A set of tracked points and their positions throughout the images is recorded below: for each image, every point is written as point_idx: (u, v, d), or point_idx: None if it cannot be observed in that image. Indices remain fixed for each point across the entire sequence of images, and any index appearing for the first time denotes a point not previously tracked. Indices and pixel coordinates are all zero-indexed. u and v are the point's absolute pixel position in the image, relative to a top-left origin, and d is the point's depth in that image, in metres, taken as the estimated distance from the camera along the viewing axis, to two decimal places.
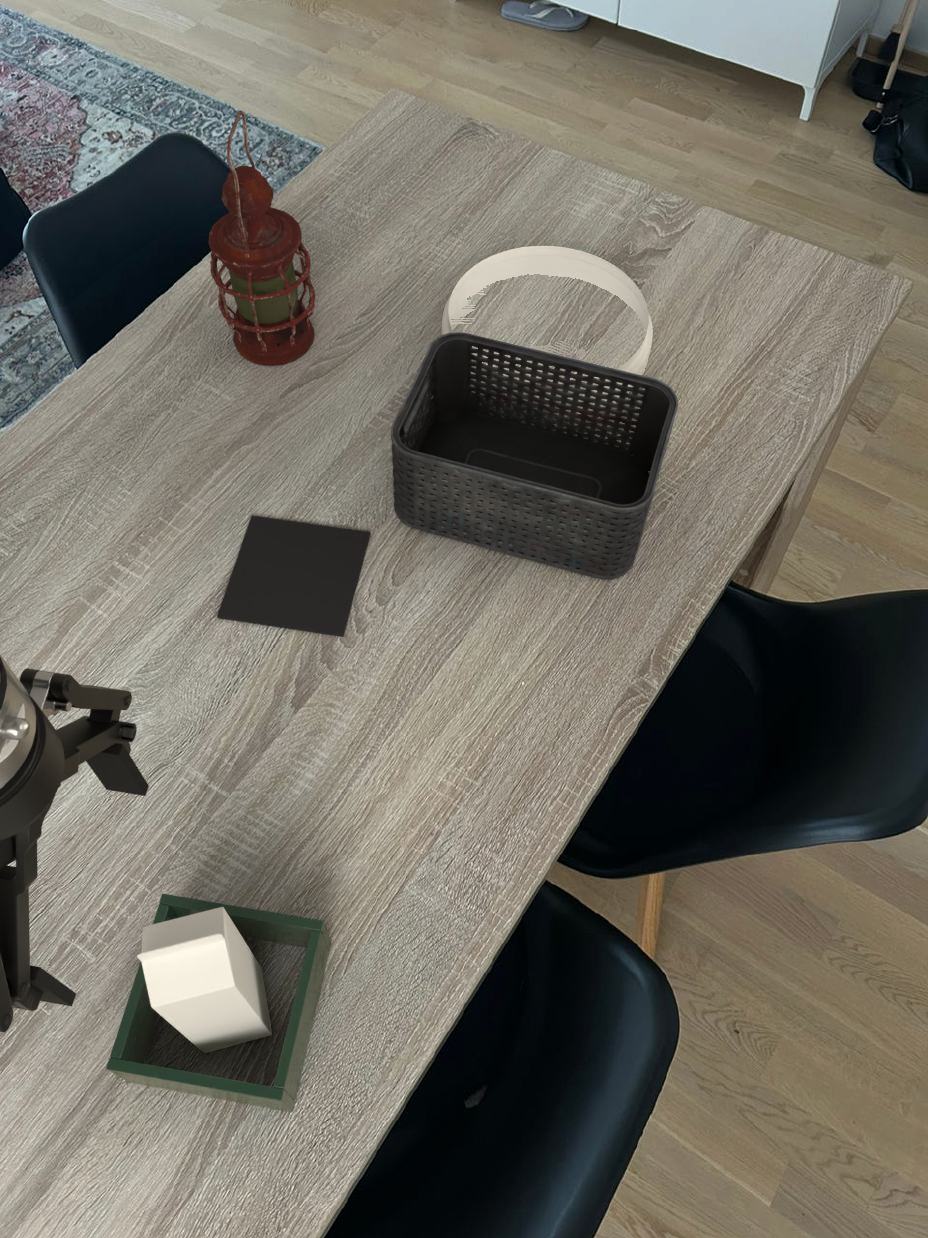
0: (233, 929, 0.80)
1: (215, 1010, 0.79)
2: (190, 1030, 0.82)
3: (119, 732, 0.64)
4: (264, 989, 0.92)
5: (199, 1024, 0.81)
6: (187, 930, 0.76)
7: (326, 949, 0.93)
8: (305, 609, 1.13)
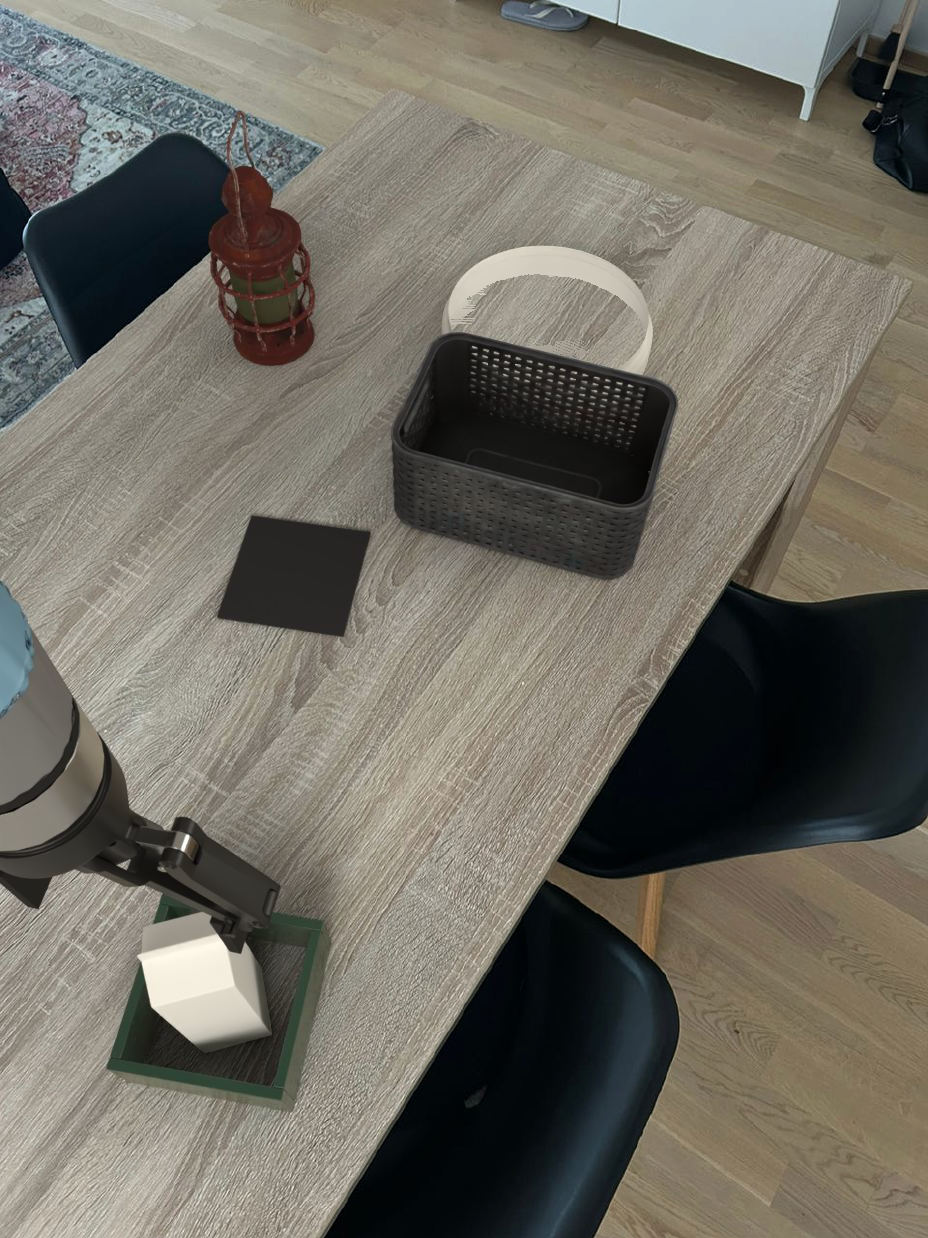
0: None
1: (215, 1010, 0.79)
2: (190, 1030, 0.82)
3: None
4: (264, 989, 0.92)
5: (199, 1024, 0.81)
6: (187, 930, 0.76)
7: (326, 949, 0.93)
8: (305, 609, 1.13)
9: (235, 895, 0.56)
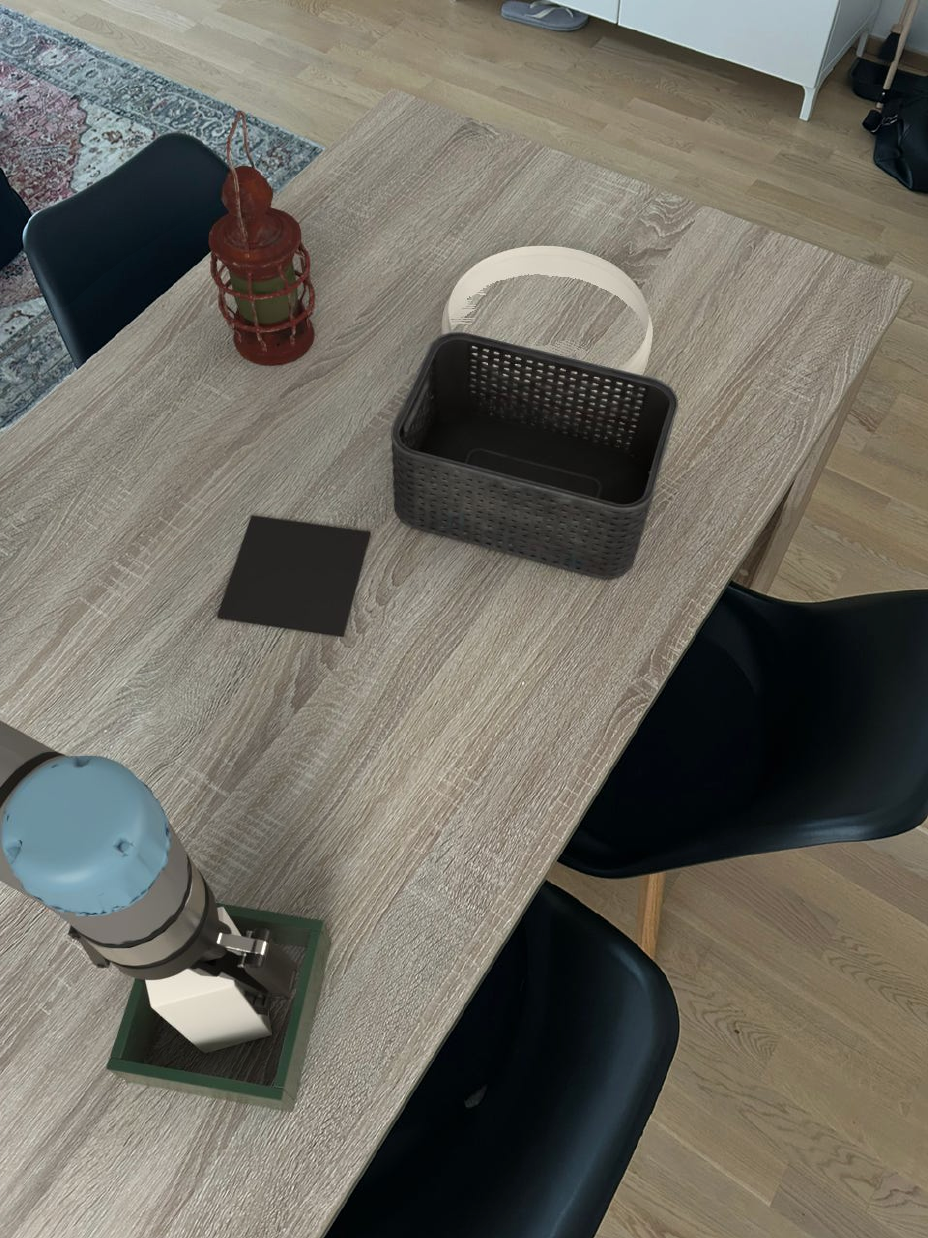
0: (233, 929, 0.80)
1: (215, 1010, 0.79)
2: (190, 1030, 0.82)
3: None
4: None
5: (199, 1024, 0.81)
6: None
7: (326, 949, 0.93)
8: (305, 609, 1.13)
9: (279, 979, 0.74)
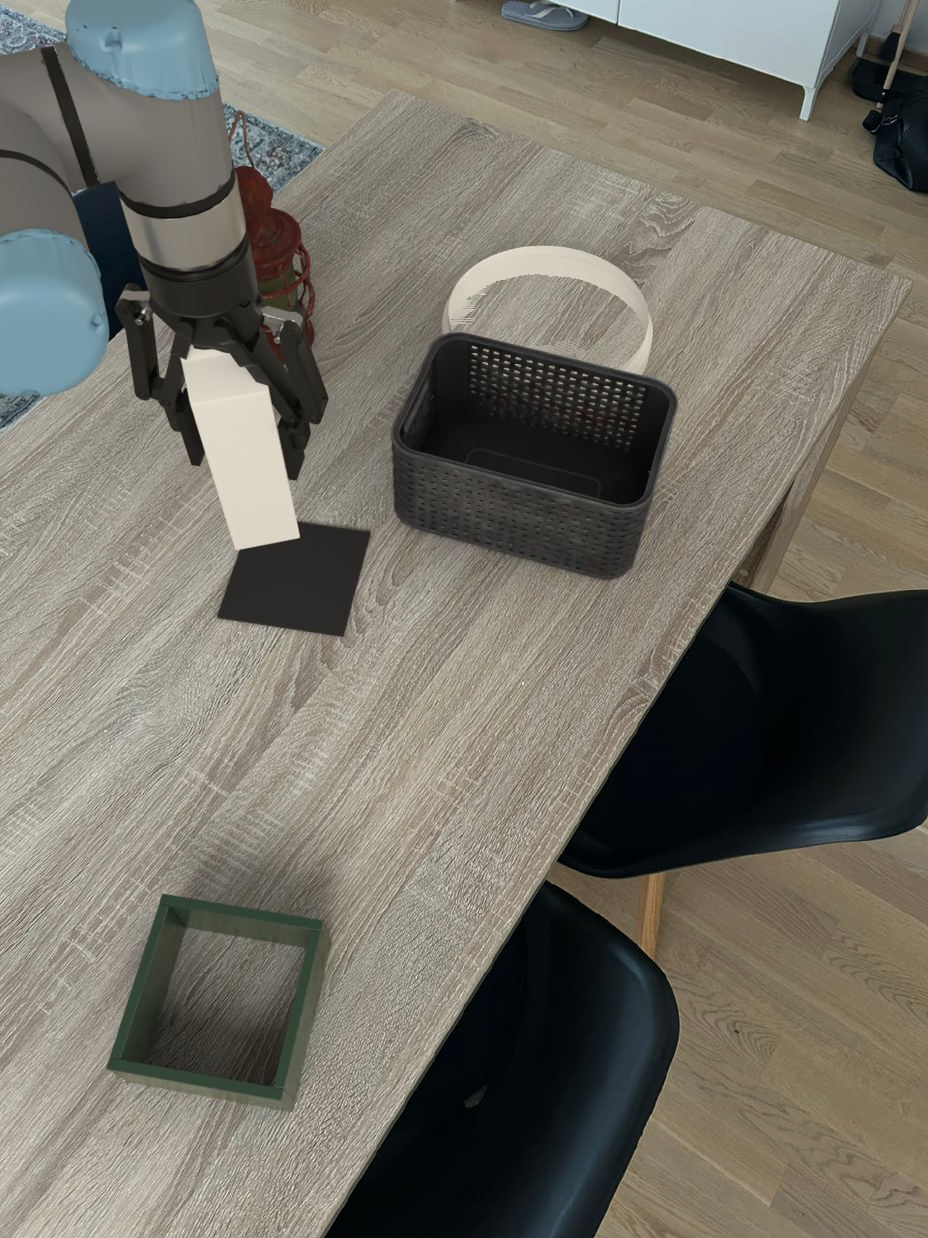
0: None
1: (249, 444, 0.83)
2: (224, 482, 0.86)
3: None
4: None
5: (233, 472, 0.85)
6: None
7: (326, 949, 0.93)
8: (305, 609, 1.13)
9: (311, 384, 0.79)
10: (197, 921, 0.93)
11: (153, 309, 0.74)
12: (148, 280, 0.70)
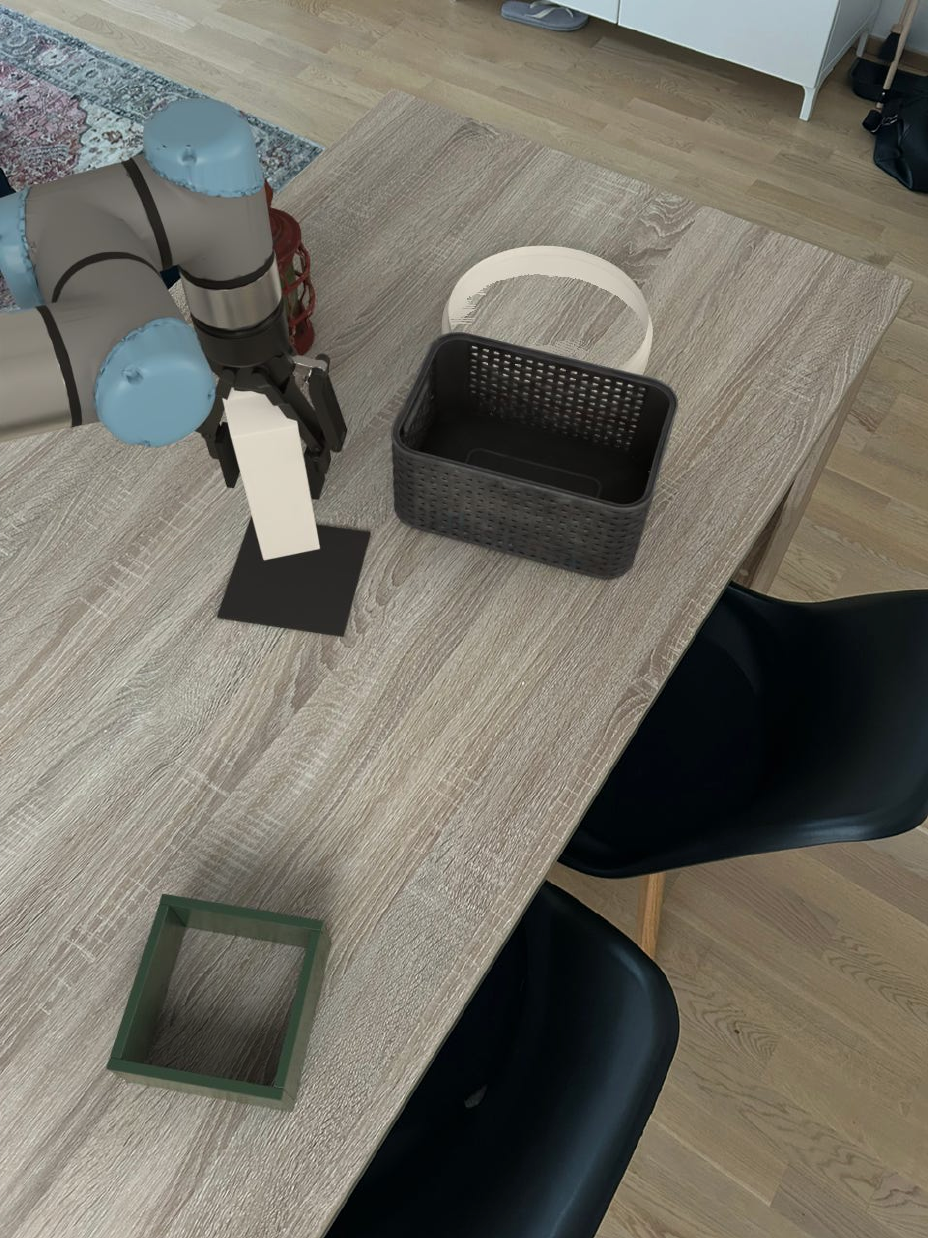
0: None
1: (279, 469, 0.97)
2: (257, 502, 1.00)
3: None
4: None
5: (264, 493, 0.99)
6: None
7: (326, 949, 0.93)
8: (305, 609, 1.13)
9: (333, 419, 0.92)
10: (197, 921, 0.93)
11: None
12: (200, 337, 0.83)
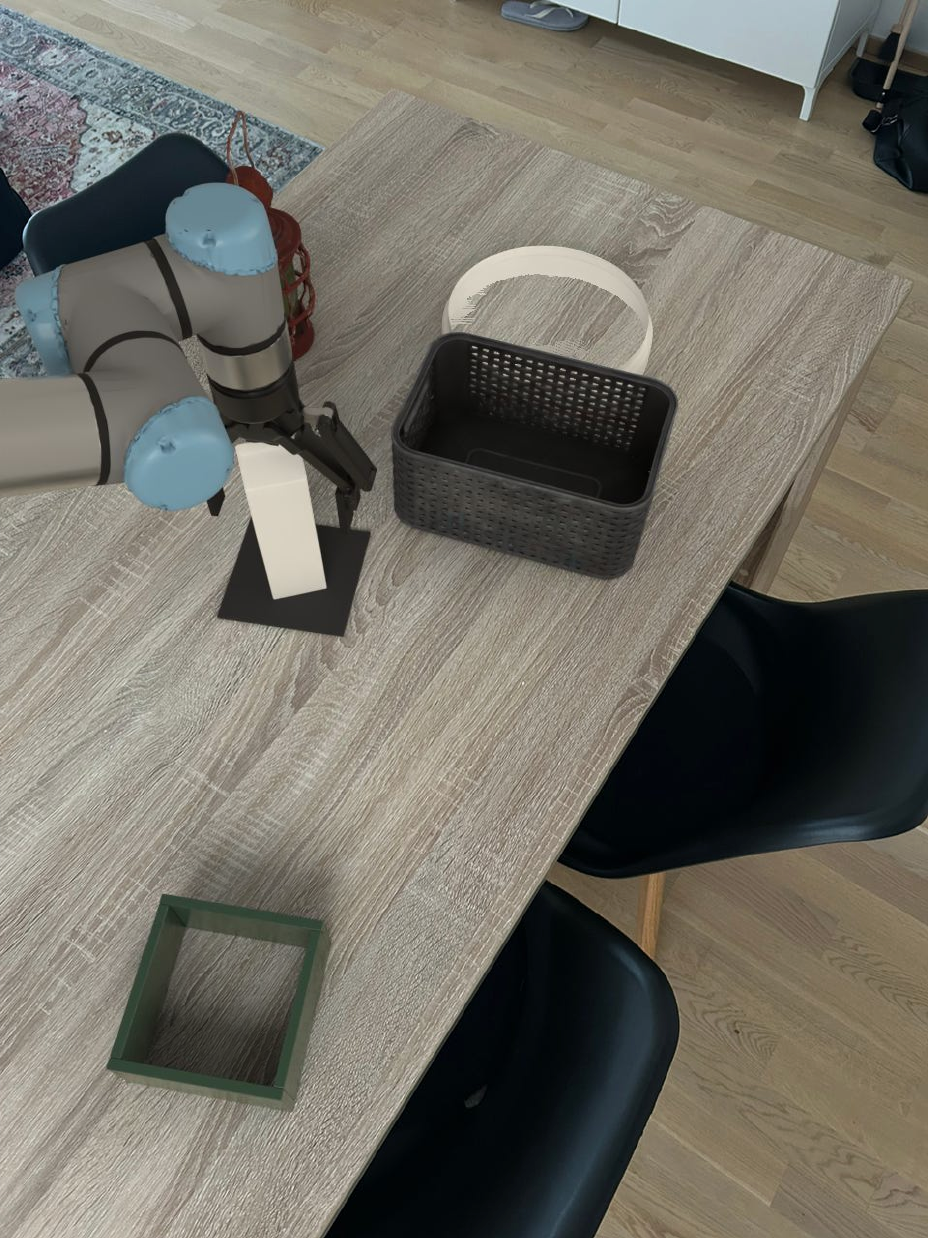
0: None
1: (289, 518, 1.03)
2: (268, 547, 1.06)
3: None
4: None
5: (275, 539, 1.05)
6: None
7: (326, 949, 0.93)
8: (305, 609, 1.13)
9: (355, 460, 0.96)
10: (197, 921, 0.93)
11: None
12: (215, 396, 0.89)
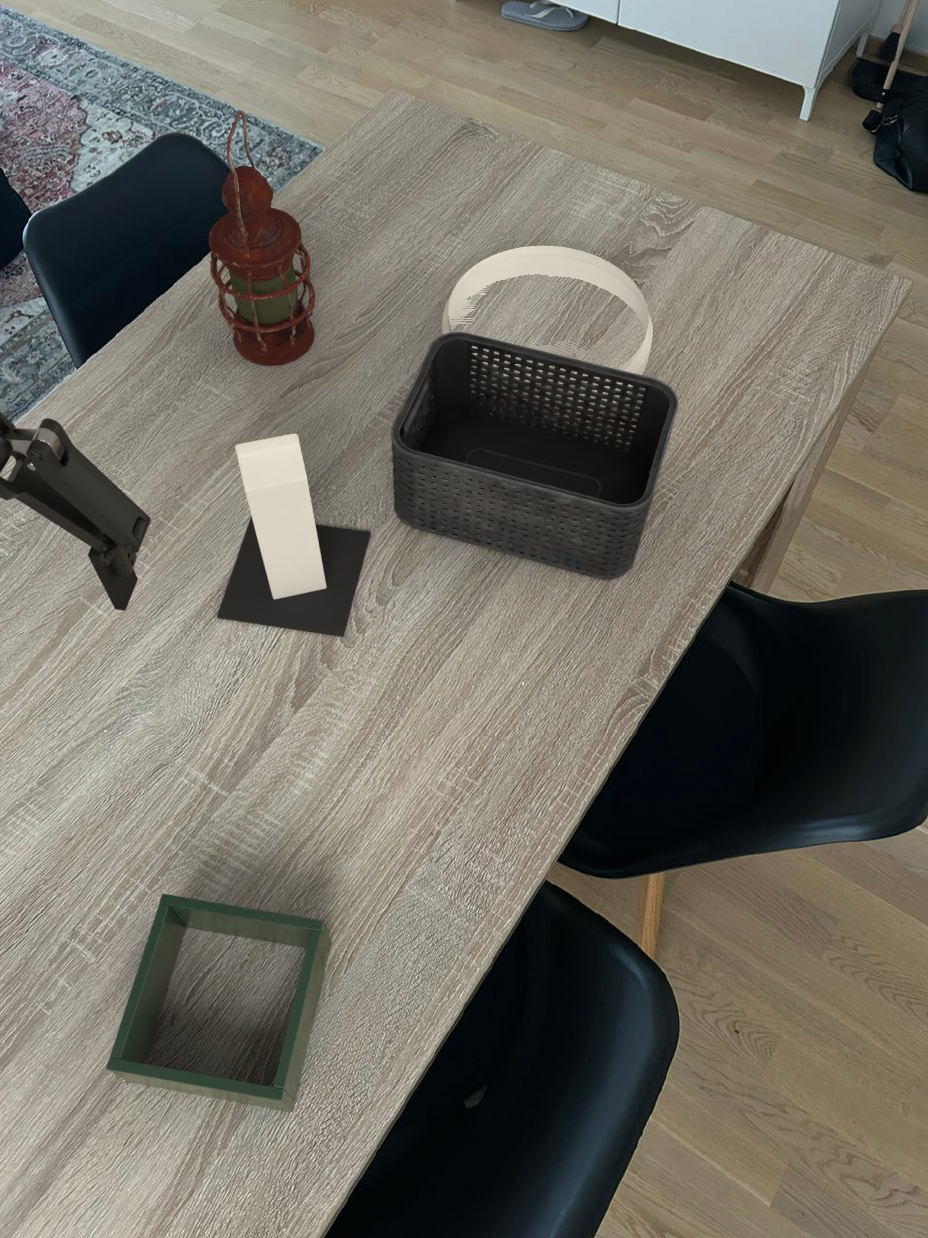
0: None
1: (289, 518, 1.03)
2: (268, 547, 1.06)
3: None
4: None
5: (275, 539, 1.05)
6: None
7: (326, 949, 0.93)
8: (305, 609, 1.13)
9: (104, 507, 0.63)
10: (197, 921, 0.93)
11: None
12: None
